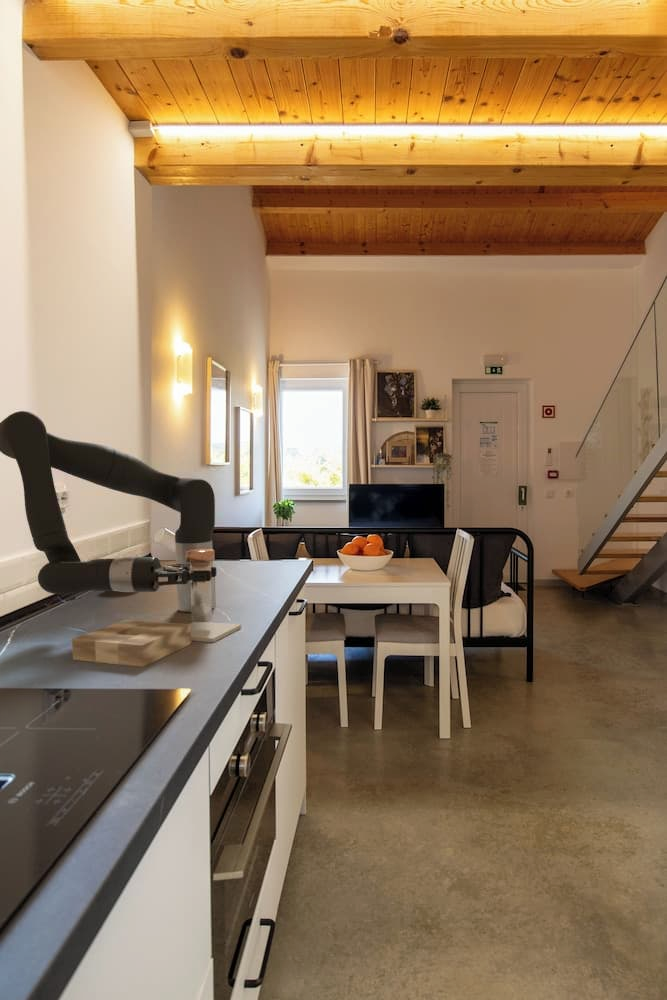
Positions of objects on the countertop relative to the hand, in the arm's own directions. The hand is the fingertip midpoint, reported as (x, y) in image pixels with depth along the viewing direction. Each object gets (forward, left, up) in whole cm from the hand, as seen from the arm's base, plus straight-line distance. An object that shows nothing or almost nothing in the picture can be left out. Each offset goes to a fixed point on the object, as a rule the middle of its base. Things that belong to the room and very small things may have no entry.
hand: (213, 573), depth 142 cm
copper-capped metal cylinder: (+1, -3, -10) cm, 10 cm away
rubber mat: (+1, -2, -13) cm, 13 cm away
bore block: (+17, -8, -13) cm, 23 cm away
